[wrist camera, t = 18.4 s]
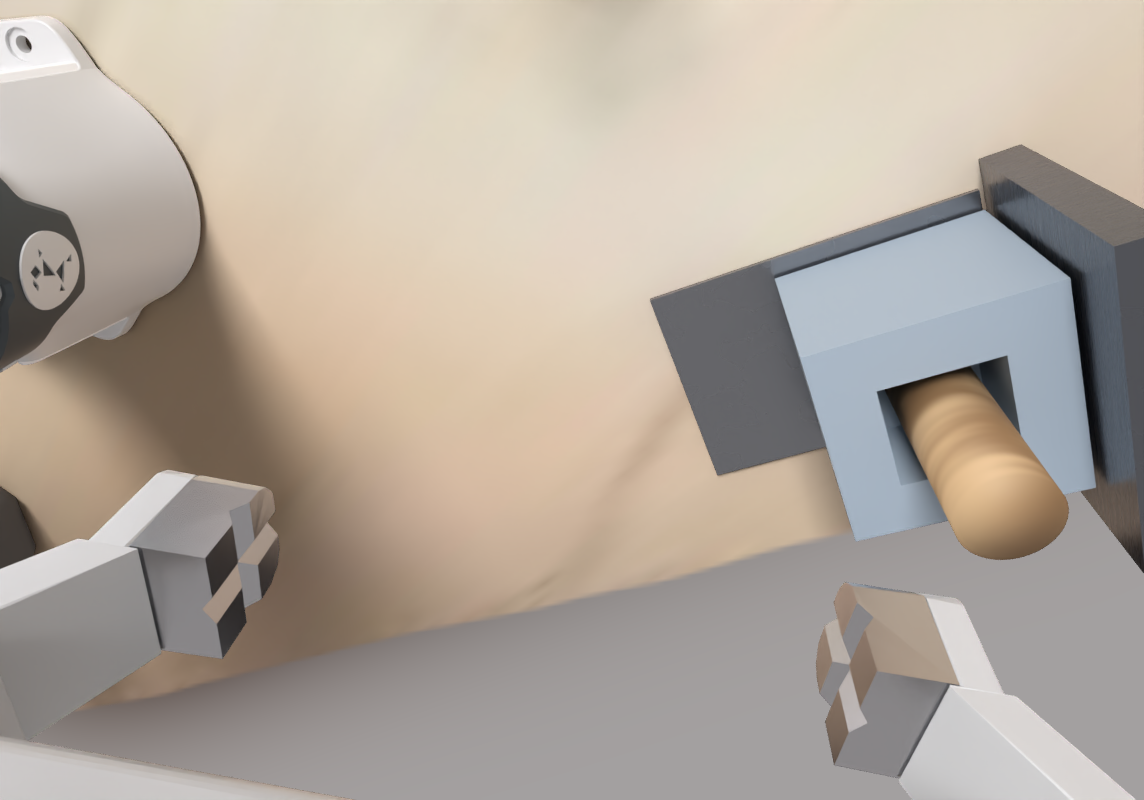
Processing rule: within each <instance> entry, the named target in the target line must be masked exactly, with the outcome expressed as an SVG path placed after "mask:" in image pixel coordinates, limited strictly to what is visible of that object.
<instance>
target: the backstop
mask: <svg viewBox="0 0 1144 800" xmlns="http://www.w3.org/2000/svg"><path fill="white" fill-rule="evenodd" d="M979 164H980V170H981V176H982V182H983V188H984V194H985V200H986V206H987V212H988V213H989V214H991V215H992V216H993V217H994V218H996V219H997V220H998V221H999V222H1001V223H1002V224H1003V225H1004V226H1006V227H1007V228H1008V229H1009V230H1011V231H1012V232H1013V233H1014V234H1016V235H1017V236H1018V237H1019V238H1021V239H1022V240H1023V241H1025V242H1026V243H1027V244H1028V245H1030V246H1031V247H1032V248H1033V249H1035V250H1036V251H1037V252H1038V253H1040V254H1041V255H1042V256H1043V257H1045V258H1046V259H1047V260H1048V261H1050V262H1051V263H1052V264H1053V265H1055V266H1056V267H1057V268H1058V269H1060V270H1061V271H1062V272H1063V273H1065V274H1066V275H1067V276H1068V277H1070V279H1071V287H1072V296H1073V304H1074V312H1075V320H1076V328H1077V336H1078V344H1079V353H1080V361H1081V369H1082V377H1083V385H1084V393H1085V401H1086V410H1087V418H1088V426H1089V434H1090V442H1091V450H1092V458H1093V466H1094V475H1095V483H1096V488H1092V489H1087V490H1083V491H1081V493H1082V494H1083V495H1084V496H1085V498H1086V499H1087V500H1088V502H1089V503H1090V504H1091V506H1092V507H1093V508H1094V509H1095V511H1096V512H1097V513H1098V515H1100V517H1101V518H1102V520H1103V521H1104V522H1105V524H1106V525H1107V526H1108V527H1109V529H1110V530H1111V532H1112V533H1113V534H1114V535H1115V537H1116V538H1117V539H1118V541H1119V542H1120V543H1121V545H1122V546H1123V547H1124V548H1125V550H1126V551H1127V552H1128V553H1129V555H1130V556H1131V558H1132V559H1133V560H1134V561H1135V563H1136V564H1137V565H1138V567H1139V568H1140V569H1141V570H1142V572H1143V573H1144V209H1143V208H1141V207H1139V206H1137V205H1135V204H1133V203H1131V202H1130V201H1128V200H1126V199H1124V198H1122V197H1120V196H1118V195H1116V194H1114V193H1112V192H1110V191H1109V190H1107V189H1105V188H1103V187H1101V186H1099V185H1097V184H1095V183H1093V182H1091V181H1090V180H1088V179H1086V178H1084V177H1082V176H1080V175H1078V174H1076V173H1074V172H1072V171H1070V170H1069V169H1067V168H1065V167H1063V166H1061V165H1059V164H1057V163H1055V162H1053V161H1051V160H1050V159H1048V158H1046V157H1044V156H1042V155H1040V154H1038V153H1036V152H1034V151H1032V150H1031V149H1029V148H1027V147H1025V146H1023V145H1018V146H1015V147H1012V148H1010V149H1007V150H1004V151H1001V152H998V153H995V154H992V155H989V156H986V157H984V158H981V159H979ZM979 211H982V204H981V198H980V192H979V190H978V189H975V190H972V191H969V192H966V193H963V194H960V195H957V196H954V197H951V198H948V199H945V200H942V201H939V202H936V203H933V204H931V205H928V206H925V207H922V208H919V209H916V210H913V211H910V212H907V213H904V214H901V215H898V216H895V217H892V218H889V219H886V220H883V221H880V222H877V223H874V224H871V225H868V226H865V227H862V228H859V229H856V230H853V231H850V232H847V233H844V234H841V235H838V236H835V237H832V238H830V239H827V240H824V241H821V242H818V243H815V244H812V245H809V246H806V247H803V248H800V249H797V250H794V251H791V252H788V253H785V254H782V255H779V256H776V257H773V258H770V259H767V260H764V261H761V262H758V263H755V264H752V265H749V266H746V267H743V268H740V269H737V270H734V271H731V272H728V273H726V274H723V275H720V276H717V277H714V278H711V279H708V280H705V281H702V282H699V283H696V284H693V285H690V286H687V287H684V288H681V289H678V290H675V291H672V292H669V293H666V294H663V295H660V296H657V297H654V298H651V299H650V301H651V304H652V307H653V309H654V312H655V314H656V317H657V320H658V322H659V325H660V327H661V330H662V333H663V335H664V338H665V340H666V343H667V345H668V348H669V351H670V353H671V356H672V358H673V361H674V364H675V366H676V369H677V371H678V374H679V377H680V379H681V382H682V384H683V387H684V390H685V392H686V395H687V397H688V400H689V403H690V405H691V408H692V410H693V413H694V416H695V418H696V421H697V423H698V426H699V428H700V431H701V434H702V436H703V439H704V441H705V444H706V447H707V449H708V452H709V454H710V457H711V460H712V462H713V465H714V467H715V470H716V473H717V475H720V474H724V473H728V472H731V471H735V470H739V469H743V468H747V467H751V466H754V465H758V464H762V463H766V462H770V461H773V460H777V459H781V458H785V457H789V456H793V455H796V454H800V453H804V452H808V451H812V450H816V449H819V448H823V447H826V445H825V442H824V439H823V436H822V433H821V429H820V426H819V423H818V419H817V416H816V413H815V410H814V406H813V403H812V400H811V396H810V393H809V390H808V387H807V383H806V380H805V377H804V373H803V370H802V367H801V364H800V360H799V357H798V354H797V350H796V347H795V344H794V341H793V337H792V334H791V331H790V327H789V324H788V321H787V317H786V314H785V311H784V308H783V304H782V301H781V298H780V294H779V291H778V288H777V285H776V281H775V278H778V277H781V276H784V275H787V274H790V273H793V272H796V271H799V270H803V269H806V268H809V267H812V266H815V265H818V264H821V263H824V262H827V261H830V260H833V259H836V258H839V257H842V256H845V255H848V254H851V253H854V252H857V251H860V250H863V249H866V248H869V247H873V246H876V245H879V244H882V243H885V242H888V241H891V240H894V239H897V238H900V237H903V236H906V235H909V234H912V233H915V232H918V231H921V230H924V229H927V228H930V227H933V226H936V225H939V224H943V223H946V222H949V221H952V220H955V219H958V218H961V217H964V216H967V215H970V214H973V213H976V212H979Z"/></svg>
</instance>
